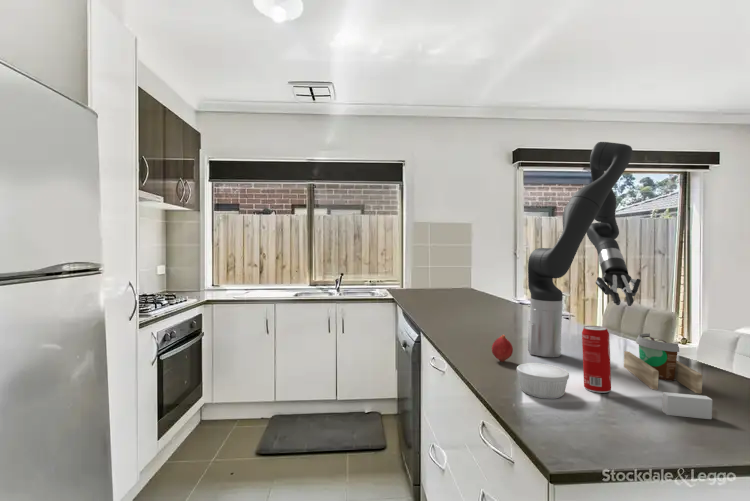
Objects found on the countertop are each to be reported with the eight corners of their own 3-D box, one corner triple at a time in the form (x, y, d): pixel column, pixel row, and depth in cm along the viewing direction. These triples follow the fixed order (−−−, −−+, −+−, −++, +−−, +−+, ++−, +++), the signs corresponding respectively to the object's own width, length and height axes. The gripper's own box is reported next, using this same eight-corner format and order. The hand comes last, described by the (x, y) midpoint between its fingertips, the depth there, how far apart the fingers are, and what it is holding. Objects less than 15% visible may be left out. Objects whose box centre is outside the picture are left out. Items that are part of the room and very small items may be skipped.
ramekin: (506, 386, 98) (506, 365, 98) (541, 381, 103) (541, 360, 103) (541, 404, 88) (542, 379, 88) (579, 397, 92) (579, 374, 92)
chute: (652, 389, 98) (653, 370, 98) (623, 366, 116) (624, 351, 116) (701, 393, 96) (702, 374, 96) (664, 370, 114) (665, 354, 114)
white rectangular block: (666, 414, 84) (667, 395, 84) (662, 410, 86) (662, 392, 85) (711, 419, 82) (712, 399, 82) (705, 415, 84) (706, 396, 84)
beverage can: (614, 395, 94) (617, 330, 94) (584, 392, 95) (586, 328, 95) (605, 386, 100) (608, 325, 99) (577, 383, 101) (579, 323, 101)
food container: (625, 367, 116) (626, 332, 116) (647, 367, 116) (648, 333, 115) (653, 382, 104) (655, 343, 103) (678, 383, 103) (679, 344, 103)
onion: (490, 363, 117) (491, 335, 117) (492, 358, 122) (493, 331, 122) (511, 365, 115) (512, 337, 114) (513, 360, 120) (513, 333, 120)
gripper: (593, 256, 140) (603, 295, 129) (638, 257, 137) (653, 298, 126) (588, 270, 146) (597, 309, 134) (631, 271, 143) (645, 312, 131)
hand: (624, 303), depth 130 cm, fingers open, 3 cm apart
